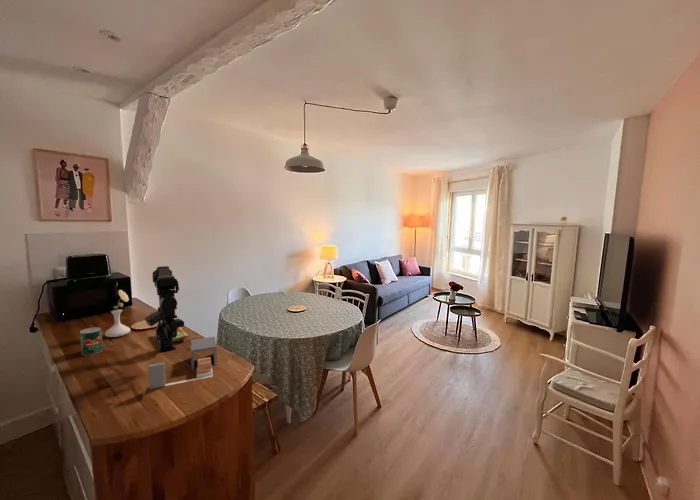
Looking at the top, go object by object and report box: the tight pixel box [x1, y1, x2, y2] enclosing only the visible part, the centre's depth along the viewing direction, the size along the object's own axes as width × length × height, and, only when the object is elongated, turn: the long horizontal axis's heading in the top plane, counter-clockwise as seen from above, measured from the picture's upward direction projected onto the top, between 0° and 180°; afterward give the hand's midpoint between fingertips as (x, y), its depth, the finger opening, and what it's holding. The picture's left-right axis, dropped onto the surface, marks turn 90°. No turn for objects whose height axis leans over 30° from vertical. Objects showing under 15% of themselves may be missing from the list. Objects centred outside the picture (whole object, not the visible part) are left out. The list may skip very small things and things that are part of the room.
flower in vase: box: [104, 289, 131, 338], centre depth 166 cm, size 13×11×25 cm
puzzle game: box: [154, 327, 189, 343], centre depth 163 cm, size 12×5×20 cm
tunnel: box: [190, 336, 218, 370], centre depth 137 cm, size 12×10×10 cm
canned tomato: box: [79, 326, 103, 356], centre depth 145 cm, size 8×8×11 cm
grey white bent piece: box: [148, 361, 214, 390], centre depth 123 cm, size 9×22×10 cm, turn 117°
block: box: [197, 356, 212, 374], centre depth 127 cm, size 5×5×5 cm
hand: (168, 338), depth 135 cm, fingers closed
